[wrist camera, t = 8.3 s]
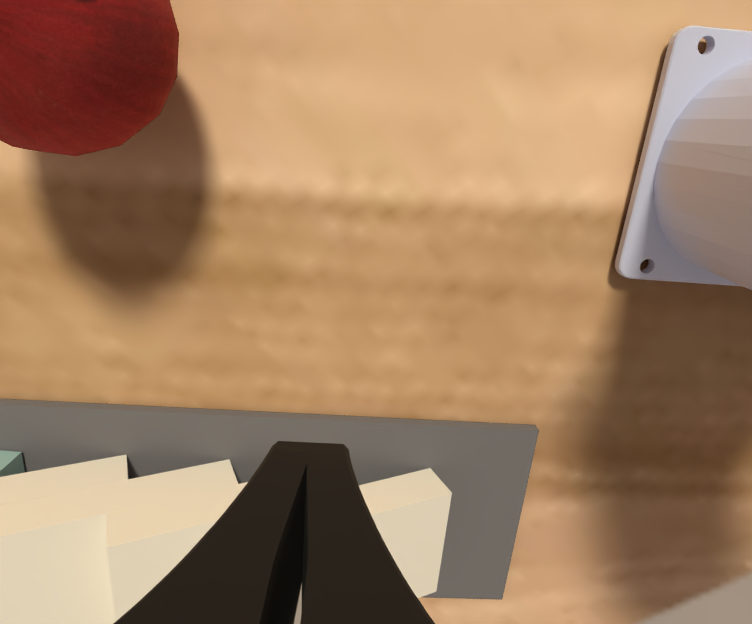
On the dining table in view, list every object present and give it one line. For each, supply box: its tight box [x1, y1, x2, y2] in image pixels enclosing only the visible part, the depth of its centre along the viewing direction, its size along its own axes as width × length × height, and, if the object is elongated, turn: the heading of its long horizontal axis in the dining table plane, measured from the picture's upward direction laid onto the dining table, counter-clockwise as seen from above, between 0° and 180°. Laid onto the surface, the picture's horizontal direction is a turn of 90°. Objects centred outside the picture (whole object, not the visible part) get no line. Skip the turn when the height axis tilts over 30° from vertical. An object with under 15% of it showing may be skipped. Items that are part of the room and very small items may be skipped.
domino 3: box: [106, 482, 248, 621], centre depth 20 cm, size 2×5×8 cm
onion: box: [0, 0, 179, 156], centre depth 12 cm, size 6×6×8 cm
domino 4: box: [294, 468, 452, 624], centre depth 20 cm, size 2×5×8 cm
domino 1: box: [0, 455, 129, 505], centre depth 19 cm, size 2×5×8 cm
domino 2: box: [0, 459, 238, 624], centre depth 19 cm, size 2×5×8 cm
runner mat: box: [0, 399, 539, 599], centre depth 22 cm, size 22×9×1 cm, turn 85°
